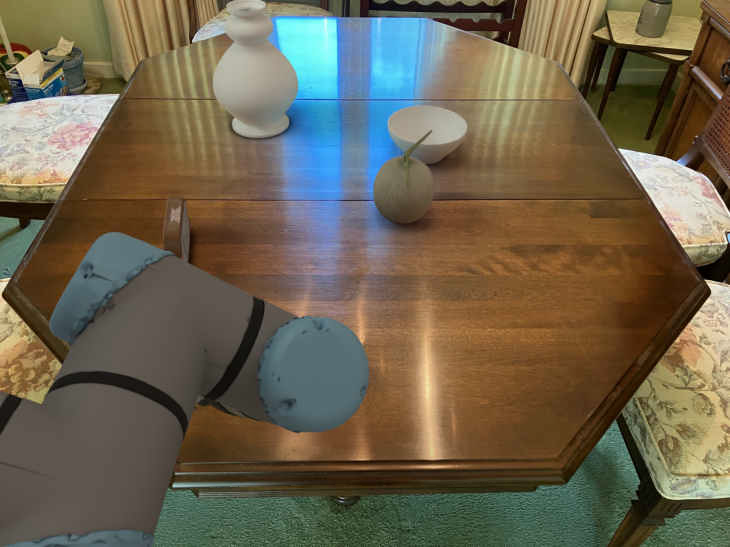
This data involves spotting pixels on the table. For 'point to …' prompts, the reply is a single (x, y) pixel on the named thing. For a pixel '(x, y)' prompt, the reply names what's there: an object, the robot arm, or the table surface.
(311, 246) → the table surface
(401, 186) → the fruit
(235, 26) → the decorative vase
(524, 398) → the table surface
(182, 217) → the tin
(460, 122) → the bowl
